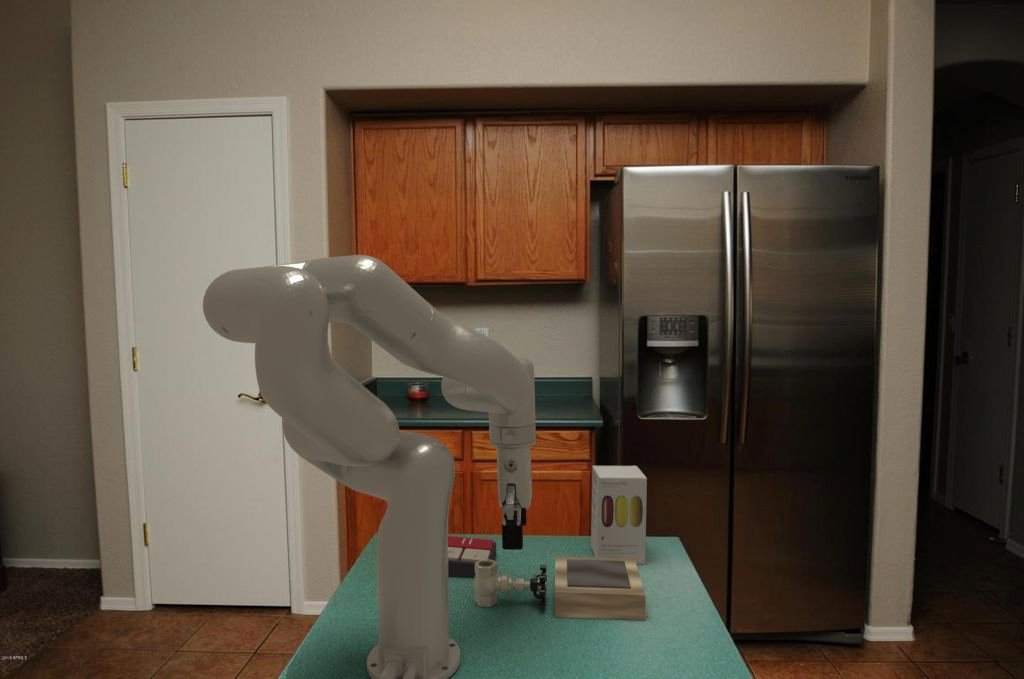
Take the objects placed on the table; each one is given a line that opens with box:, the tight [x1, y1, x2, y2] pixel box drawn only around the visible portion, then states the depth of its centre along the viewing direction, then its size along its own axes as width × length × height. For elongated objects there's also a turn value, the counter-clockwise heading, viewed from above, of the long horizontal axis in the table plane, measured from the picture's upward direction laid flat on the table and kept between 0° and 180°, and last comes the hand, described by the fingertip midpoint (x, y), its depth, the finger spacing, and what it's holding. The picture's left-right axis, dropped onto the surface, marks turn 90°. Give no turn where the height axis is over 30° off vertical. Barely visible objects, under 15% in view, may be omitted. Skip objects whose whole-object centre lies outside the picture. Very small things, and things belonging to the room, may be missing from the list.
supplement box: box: [590, 465, 648, 565], centre depth 120 cm, size 10×9×17 cm
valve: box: [472, 559, 548, 608], centre depth 101 cm, size 7×7×12 cm
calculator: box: [448, 535, 497, 579], centre depth 116 cm, size 11×4×15 cm
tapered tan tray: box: [554, 555, 646, 621], centre depth 102 cm, size 14×14×4 cm
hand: (515, 536), depth 101 cm, fingers open, 9 cm apart
